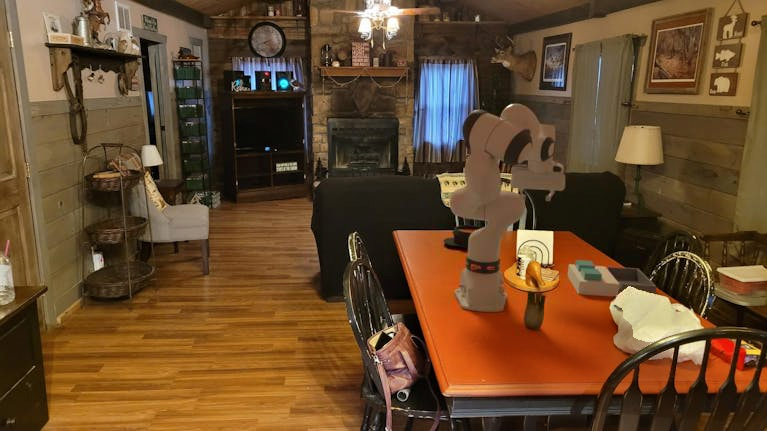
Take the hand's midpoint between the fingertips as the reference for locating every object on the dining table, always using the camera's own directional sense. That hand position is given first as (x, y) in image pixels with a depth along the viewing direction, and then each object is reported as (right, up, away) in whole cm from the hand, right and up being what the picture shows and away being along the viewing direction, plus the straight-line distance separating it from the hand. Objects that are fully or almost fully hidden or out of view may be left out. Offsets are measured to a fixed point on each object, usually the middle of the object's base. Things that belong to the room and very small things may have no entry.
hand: (535, 200), depth 211 cm
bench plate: (+21, -33, -1) cm, 39 cm away
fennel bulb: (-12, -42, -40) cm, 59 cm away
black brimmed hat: (-18, -21, +48) cm, 55 cm away
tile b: (+20, -27, +3) cm, 34 cm away
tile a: (+19, -29, -7) cm, 35 cm away
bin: (+35, -34, -3) cm, 48 cm away
